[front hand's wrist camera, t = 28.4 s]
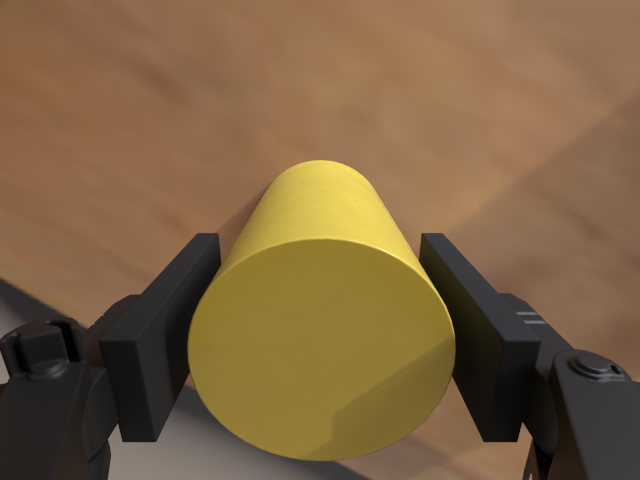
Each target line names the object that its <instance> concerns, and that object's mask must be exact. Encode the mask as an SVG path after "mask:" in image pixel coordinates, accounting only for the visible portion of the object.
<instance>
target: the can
mask: <svg viewBox="0 0 640 480" xmlns="http://www.w3.org/2000/svg"><path fill="white" fill-rule="evenodd" d="M455 352H456V347H455V334H454V329H453V325H452V320H451V318H450V315H449V313H448V310H447V308H446V305H445V304H444V302H443V300H442V299H441V297H440V295H439V294H438V292H437V290H436V289H435V287H434V285H433V284H432V282H431V281H430V279H429V277H428V276H427V274H426V272H425V271H424V269H423V268H422V266H421V264H420V263H419V261H418V260H417V258H416V256H415V255H414V253H413V251H412V250H411V248H410V247H409V245H408V243H407V242H406V240H405V239H404V237H403V235H402V234H401V232H400V231H399V229H398V227H397V226H396V224H395V222H394V221H393V219H392V218H391V216H390V214H389V213H388V211H387V210H386V208H385V206H384V205H383V203H382V201H381V200H380V198H379V197H378V195H377V193H376V192H375V190H374V189H373V187H372V186H371V184H370V183H369V182H368V181H367V180H366V179H365V178H364V177H363V176H362V175H361V174H359V173H358V172H357V171H355V170H354V169H352V168H350V167H348V166H346V165H343V164H341V163H337V162H333V161H324V160H318V161H309V162H304V163H301V164H298V165H295V166H293V167H291V168H289V169H288V170H286V171H284V172H283V173H282V174H280V175H279V176H278V177H277V178H276V179H275V180H274V181H273V182H272V183H271V184H270V186H269V187H268V189H267V190H266V192H265V194H264V195H263V197H262V199H261V200H260V202H259V204H258V205H257V207H256V208H255V210H254V212H253V213H252V215H251V217H250V218H249V220H248V222H247V223H246V225H245V227H244V228H243V230H242V232H241V233H240V235H239V237H238V238H237V240H236V242H235V243H234V245H233V247H232V248H231V250H230V252H229V253H228V255H227V257H226V258H225V260H224V261H223V263H222V265H221V266H220V268H219V270H218V271H217V273H216V275H215V276H214V278H213V280H212V281H211V283H210V285H209V286H208V288H207V290H206V291H205V293H204V295H203V296H202V298H201V300H200V301H199V304H198V306H197V308H196V310H195V312H194V314H193V317H192V321H191V324H190V327H189V333H188V341H187V357H188V364H189V369H190V374H191V377H192V380H193V383H194V386H195V388H196V390H197V392H198V394H199V396H200V398H201V400H202V401H203V403H204V404H205V406H206V407H207V408H208V410H209V411H210V413H211V414H212V415H213V416H214V417H215V418H216V419H217V420H218V421H219V422H220V423H221V424H222V425H223V426H224V427H226V428H227V429H228V430H229V431H230V432H232V433H233V434H234V435H236V436H238V437H239V438H241V439H242V440H244V441H245V442H247V443H249V444H251V445H253V446H255V447H257V448H259V449H262V450H265V451H267V452H270V453H273V454H276V455H280V456H284V457H288V458H294V459H299V460H310V461H334V460H342V459H350V458H354V457H358V456H363V455H366V454H369V453H372V452H375V451H378V450H380V449H383V448H385V447H387V446H389V445H391V444H393V443H395V442H397V441H398V440H400V439H402V438H404V437H405V436H407V435H408V434H409V433H411V432H412V431H413V430H415V429H416V428H417V427H418V426H419V425H420V424H421V423H422V422H423V421H424V420H426V419H427V418H428V416H429V415H430V414H431V413H432V412H433V410H434V409H435V408H436V407H437V405H438V404H439V402H440V400H441V399H442V397H443V395H444V394H445V391H446V389H447V387H448V384H449V382H450V380H451V376H452V372H453V368H454V362H455Z"/></svg>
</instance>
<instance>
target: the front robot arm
mask: <svg viewBox="0 0 640 480" xmlns="http://www.w3.org/2000/svg"><path fill="white" fill-rule="evenodd" d="M419 263H420V264H421V266H422V268H423V269H424V271H425V272H426V274H427V276H428V277H429V279H430V281H431V282H432V284H433V285H434V287H435V289H436V290H437V292H438V294H439V295H440V297H441V299H442V300H443V302H444V304H445V305H446V308H447V310H448V313H449V315H450V318H451V320H452V325H453V329H454V334H455V347H456V352H455V362H454V368H453V372H452V377H453V379H454V381H455V383H456V385H457V387H458V389H459V391H460V393H461V396H462V398H463V400H464V402H465V404H466V406H467V408H468V410H469V412H470V414H471V416H472V418H473V420H474V423H475V425H476V427H477V429H478V431H479V433H480V435H481V437H482V439H483V441H484V442H517V441H518V437H519V433H520V429H521V425H522V422H523V423H524V425H525V426H526V428H527V429H528V431H529V433H530V434H531V436H532V437H533V438H532V442H531V446H530V450H529V454H528V457H527V461H526V465H525V469H524V474H523V480H529V477H530V473H532V479H533V480H640V383H639V382H634V381H632V379H631V378H630V376H629V375H628V374H627V373H626V372H625V370H624V369H623V368H621V367H620V366H618V365H617V364H615V363H614V362H613V361H611V360H609V359H607V358H604V357H602V356H600V355H598V354H595V353H591V352H588V351H584V350H577V349H574V348H572V347H571V346H570V345H569V344H568V343H567V342H566V341H565V340H564V339H563V338H562V337H561V336H560V335H559V334H558V333H557V332H556V331H555V330H554V329H553V328H552V327H551V326H550V325H549V324H546V321H545V320H544V319H543V318H542V317H541V316H540V315H537V312H536V311H535V310H533V309H532V308H531V307H530V306H529V305H528V304H527V303H526V302H525V301H523V300H521V299H519V298H517V297H516V296H514V295H512V294H510V293H497V292H496V291H495V289H494V288H493V287H492V286H491V285H490V284H489V283H488V282H487V281H486V280H485V279H484V278H483V277H482V275H481V274H480V273H479V272H478V271H477V270H476V269H475V268H474V267H473V266H472V265H471V264H470V263H469V261H468V260H467V259H466V258H465V257H464V256H463V255H462V254H461V253H460V252H459V251H458V250H457V249H456V247H455V246H454V245H453V244H452V243H451V242H450V241H449V240H448V239H447V238H446V237H445V236H444V235H443V233H422V235H421V245H420V255H419ZM220 266H221V255H220V245H219V235H218V233H197V234H196V236H195V237H194V238H193V239H192V240H191V241H190V242H189V243H188V244H187V245H186V246H185V247H184V248H183V250H182V251H181V252H180V253H179V254H178V255H177V256H176V257H175V258H174V259H173V260H172V261H171V263H170V264H169V265H168V266H167V267H166V268H165V269H164V270H163V271H162V272H161V273H160V274H159V275H158V277H157V278H156V279H155V280H154V281H153V282H152V283H151V284H150V285H149V286H148V287H147V288H146V289H145V291H144V292H143V293H142V294H141V295H129V296H127V297H125V298H123V299H122V300H120V301H118V302H116V303H114V304H113V305H112V306H111V307H110V308H109V309H108V310H107V311H106V312H105V313H104V315H103V316H101V317H100V318H99V319H98V320H97V321H96V322H95V325H92V326H91V327H90V328H89V329H88V330H87V331H86V332H85V333H84V334H83V335H82V336H81V334H80V330H79V326H78V322H77V321H75V320H74V319H72V318H68V317H51V318H45V319H41V320H37V321H33V322H30V323H27V324H25V325H22V326H20V327H17V328H16V329H14V330H12V331H11V332H9V333H7V334H6V335H4V336H3V337H2V338H1V339H0V351H1V354H2V357H3V360H4V363H5V365H6V368H7V371H8V374H9V377H10V378H9V380H8V382H7V383H5V384H0V480H108V473H109V466H110V459H111V452H110V446H109V442H108V438H109V436H110V435H111V433H112V431H113V430H114V428H115V427H116V425H117V424H118V425H119V429H120V433H121V437H122V441H123V442H156V441H157V439H158V437H159V435H160V433H161V431H162V429H163V427H164V425H165V423H166V420H167V418H168V416H169V414H170V412H171V410H172V408H173V406H174V404H175V402H176V400H177V398H178V396H179V393H180V391H181V389H182V387H183V385H184V383H185V381H186V379H187V377H188V375H189V373H190V369H189V364H188V357H187V341H188V333H189V327H190V324H191V321H192V317H193V314H194V312H195V310H196V308H197V306H198V304H199V301H200V300H201V298H202V296H203V295H204V293H205V291H206V290H207V288H208V286H209V285H210V283H211V281H212V280H213V278H214V276H215V275H216V273H217V271H218V270H219V268H220Z"/></svg>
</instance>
